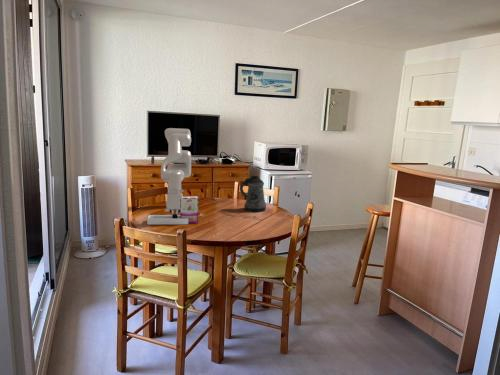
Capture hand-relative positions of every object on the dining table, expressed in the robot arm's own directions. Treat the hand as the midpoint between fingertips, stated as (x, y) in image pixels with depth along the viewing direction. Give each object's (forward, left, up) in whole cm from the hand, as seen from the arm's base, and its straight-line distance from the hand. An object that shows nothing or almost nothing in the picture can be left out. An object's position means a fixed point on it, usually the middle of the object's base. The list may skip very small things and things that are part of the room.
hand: (174, 220), depth 227 cm
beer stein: (-35, +56, -2) cm, 66 cm away
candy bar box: (0, +9, -2) cm, 9 cm away
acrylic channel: (0, -4, -1) cm, 4 cm away
